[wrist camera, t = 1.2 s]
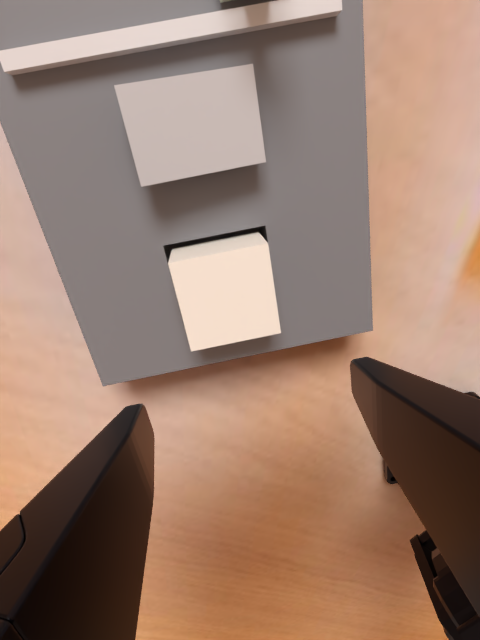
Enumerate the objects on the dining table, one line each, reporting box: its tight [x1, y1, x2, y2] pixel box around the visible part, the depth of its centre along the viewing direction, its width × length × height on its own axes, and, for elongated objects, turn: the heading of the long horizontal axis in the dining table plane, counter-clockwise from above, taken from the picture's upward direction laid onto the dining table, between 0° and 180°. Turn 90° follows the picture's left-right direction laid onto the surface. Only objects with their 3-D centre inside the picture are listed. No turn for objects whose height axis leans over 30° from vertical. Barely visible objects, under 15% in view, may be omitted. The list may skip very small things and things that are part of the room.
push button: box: [168, 232, 281, 351], centre depth 17 cm, size 4×4×3 cm
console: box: [0, 0, 373, 386], centre depth 16 cm, size 20×14×4 cm
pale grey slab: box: [114, 64, 266, 187], centre depth 14 cm, size 3×5×1 cm
